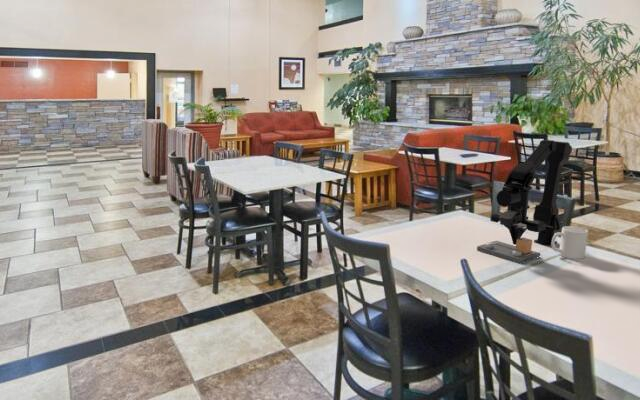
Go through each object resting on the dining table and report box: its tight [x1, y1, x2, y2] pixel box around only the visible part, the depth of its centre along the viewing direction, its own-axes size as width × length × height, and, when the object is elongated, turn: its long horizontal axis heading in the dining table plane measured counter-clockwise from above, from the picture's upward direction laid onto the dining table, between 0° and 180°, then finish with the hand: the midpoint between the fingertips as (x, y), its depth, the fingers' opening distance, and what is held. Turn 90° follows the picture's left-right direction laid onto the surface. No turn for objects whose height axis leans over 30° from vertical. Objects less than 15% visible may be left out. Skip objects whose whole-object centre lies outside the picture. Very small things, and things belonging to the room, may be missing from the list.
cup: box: [550, 225, 589, 261], centre depth 177 cm, size 8×12×10 cm
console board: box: [476, 240, 541, 264], centre depth 180 cm, size 12×18×3 cm, turn 37°
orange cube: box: [515, 237, 533, 254], centre depth 177 cm, size 4×4×4 cm
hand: (514, 244), depth 179 cm, fingers closed
